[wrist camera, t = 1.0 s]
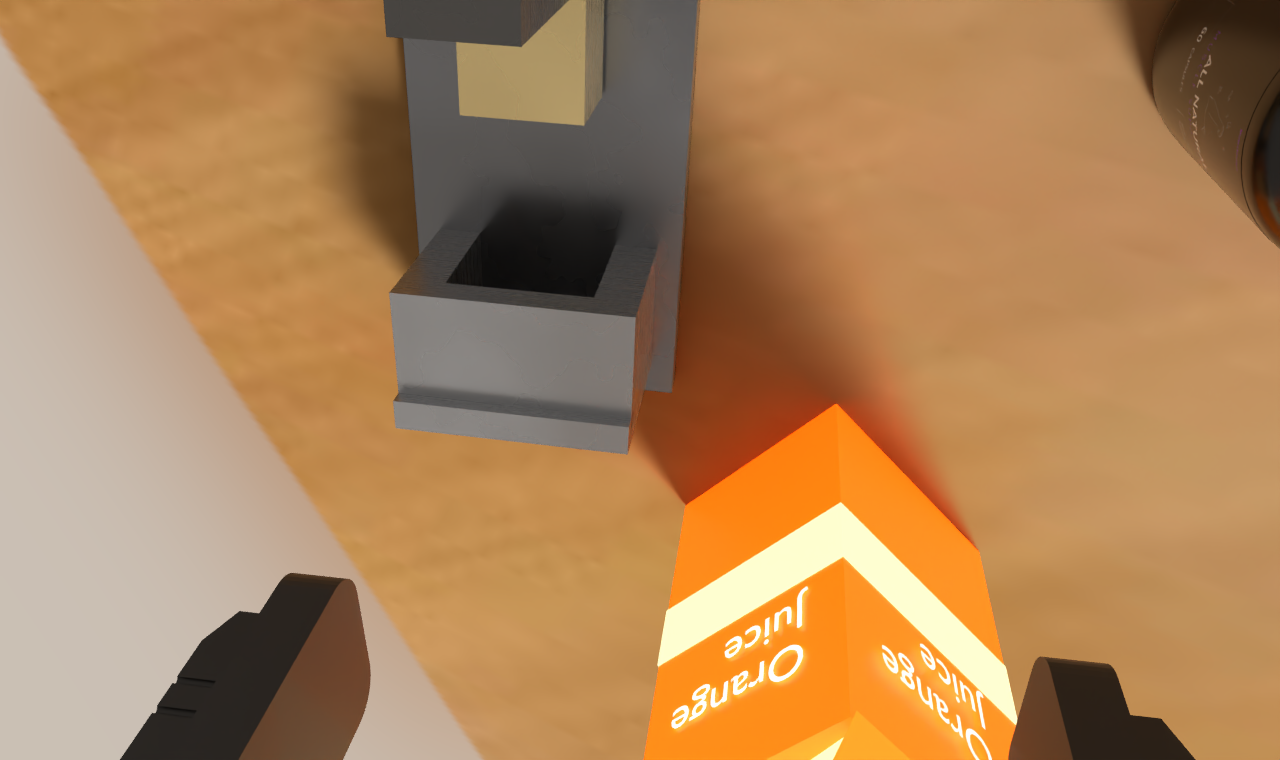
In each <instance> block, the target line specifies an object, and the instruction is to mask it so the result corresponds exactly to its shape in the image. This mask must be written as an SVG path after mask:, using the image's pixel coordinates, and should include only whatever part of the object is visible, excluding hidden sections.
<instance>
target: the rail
mask: <svg viewBox="0 0 1280 760" xmlns="http://www.w3.org/2000/svg"><path fill="white" fill-rule="evenodd" d="M699 11H700V0H604V39H603V84H602V98H601V99H600V101H599V103H598V104H597V106H596V107H595V109H594V111H593V112H592V114H591V115H590V117H589V119H588V120H587V122H586V124H585V125H584V126H583V125H571V124H559V123H547V122H535V121H523V120H511V119H499V118H487V117H475V116H463V115H460V111H459V91H458V71H457V50H456V42H448V41H435V40H421V39H408V38H403V43H404V56H405V70H406V83H407V96H408V110H409V123H410V137H411V150H412V163H413V177H414V190H415V203H416V217H417V230H418V244H419V256H418V257H417V258H416V260H415V261H414V262H413V264H412V265H411V266H410V267H409V269H408V270H407V271H406V272H405V274H404V275H403V276H402V277H401V279H400V280H399V281H398V282H397V284H396V285H395V286H394V287H393V289H392V290H391V291H390V293H389V294H390V305H391V316H392V327H393V338H394V348H395V359H396V370H397V381H398V392H399V393H398V395H397V396H396V398H395V399H394V401H393V404H394V415H395V425H396V428H400V429H409V430H418V431H426V432H435V433H444V434H453V435H462V436H470V437H479V438H488V439H497V440H505V441H514V442H523V443H532V444H541V445H549V446H558V447H567V448H576V449H584V450H593V451H602V452H611V453H620V454H628V451H629V448H630V444H631V440H632V436H633V432H634V429H635V425H636V421H637V417H638V413H639V409H640V406H641V402H642V398H643V394H644V390H650V391H659V392H668V393H672V389H673V384H674V379H675V366H676V351H677V337H678V322H679V307H680V292H681V277H682V263H683V248H684V233H685V218H686V203H687V189H688V174H689V159H690V144H691V129H692V115H693V100H694V85H695V70H696V55H697V40H698V26H699Z"/></svg>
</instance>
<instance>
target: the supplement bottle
mask: <svg viewBox="0 0 1280 760" xmlns="http://www.w3.org/2000/svg"><path fill="white" fill-rule="evenodd" d="M1152 86H1153V94H1154V98H1155V102H1156V105H1157V108H1158V111H1159V113H1160V115H1161V117H1162V119H1163V121H1164V123H1165V125H1166V126H1167V128H1168V129H1169V131H1170V132H1171V134H1172V135H1173V136H1174V137H1175V138H1176V140H1177V141H1178V142H1179V143H1180V144H1181V146H1182V147H1183V148H1184V149H1185V150H1186V151H1187V152H1188V153H1189V154H1190V156H1191V157H1192V158H1193V159H1194V160H1195V161H1196V162H1197V163H1198V164H1199V165H1200V166H1201V167H1202V168H1203V169H1204V171H1205V172H1206V173H1207V174H1208V175H1209V176H1210V177H1211V178H1212V179H1213V180H1214V181H1215V182H1216V183H1217V184H1218V185H1219V187H1220V188H1221V189H1222V190H1223V191H1224V192H1225V193H1226V194H1227V195H1228V196H1229V197H1230V198H1231V199H1232V200H1233V202H1234V203H1235V204H1236V205H1237V206H1238V207H1239V208H1240V209H1241V210H1242V211H1243V212H1244V213H1245V214H1246V215H1247V216H1248V218H1249V219H1250V220H1251V221H1252V222H1253V223H1254V224H1255V225H1256V226H1257V227H1258V228H1259V229H1260V230H1261V231H1262V232H1263V234H1264V235H1265V236H1266V237H1267V238H1268V239H1269V240H1270V241H1272V242H1273V243H1274V244H1275V245H1276V246H1277V247H1278V248H1280V0H1177V1H1176V3H1175V5H1174V6H1173V8H1172V9H1171V11H1170V13H1169V15H1168V17H1167V19H1166V21H1165V23H1164V25H1163V27H1162V30H1161V32H1160V35H1159V37H1158V41H1157V44H1156V48H1155V53H1154V58H1153V67H1152Z"/></svg>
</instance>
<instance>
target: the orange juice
mask: <svg viewBox="0 0 1280 760" xmlns="http://www.w3.org/2000/svg"><path fill="white" fill-rule="evenodd" d="M657 666H659V670H658V676H657V682H656V688H655V694H654V700H653V706H652V713H651V719H650V725H649V731H648V737H647V743H646V749H645V755H644V760H1008V755H1009V749H1010V744H1011V741H1012V737H1013V734H1014V730H1015V727H1016V723H1017V716H1016V712H1015V707H1014V702H1013V698H1012V693H1011V689H1010V684H1009V680H1008V675H1007V671H1006V667H1005V666H1004V664H1003V660H1002V655H1001V651H1000V646H999V641H998V637H997V632H996V628H995V623H994V618H993V614H992V609H991V605H990V600H989V595H988V591H987V586H986V582H985V577H984V572H983V568H982V563H981V559H980V554H979V551H978V550H977V549H976V548H975V547H974V546H973V545H972V544H971V543H970V542H969V541H968V540H967V539H966V538H965V537H964V536H963V535H962V534H961V532H960V531H959V530H958V529H957V528H956V527H955V526H954V525H953V524H952V523H951V522H950V521H949V520H948V519H947V518H946V517H945V516H944V515H943V514H942V513H941V512H940V511H939V510H938V509H937V508H936V507H935V505H934V504H933V503H932V502H931V501H930V500H929V499H928V498H927V497H926V496H925V495H924V494H923V493H922V492H921V491H920V490H919V489H918V488H917V487H916V486H915V485H914V484H913V483H912V482H911V481H910V479H909V478H908V477H907V476H906V475H905V474H904V473H903V472H902V471H901V470H900V469H899V468H898V467H897V466H896V465H895V464H894V463H893V462H892V461H891V460H890V459H889V458H888V457H887V456H886V455H885V454H884V452H883V451H882V450H881V449H880V448H879V447H878V446H877V445H876V444H875V443H874V442H873V441H872V440H871V439H870V438H869V437H868V436H867V435H866V434H865V433H864V432H863V431H862V430H861V429H860V428H859V426H858V425H857V424H856V423H855V422H854V421H853V420H852V419H851V418H850V417H849V416H848V415H847V414H846V413H845V412H844V411H843V410H842V409H841V408H840V407H839V406H838V405H837V404H835V405H833V406H832V407H830V408H829V409H827V410H826V411H824V412H823V413H821V414H820V415H819V416H817V417H816V418H814V419H813V420H811V421H810V422H808V423H807V424H805V425H804V426H802V427H801V428H799V429H798V430H796V431H795V432H793V433H792V434H790V435H789V436H788V437H786V438H785V439H783V440H782V441H780V442H779V443H777V444H776V445H774V446H773V447H771V448H770V449H768V450H767V451H765V452H764V453H762V454H761V455H759V456H758V457H757V458H755V459H754V460H752V461H751V462H749V463H748V464H746V465H745V466H743V467H742V468H740V469H739V470H737V471H736V472H734V473H733V474H731V475H730V476H728V477H727V478H726V479H724V480H723V481H721V482H720V483H718V484H717V485H715V486H714V487H712V488H711V489H709V490H708V491H706V492H705V493H703V494H702V495H700V496H699V497H697V498H696V499H695V500H693V501H692V502H690V503H689V504H687V505H686V506H685V512H684V518H683V525H682V531H681V537H680V543H679V549H678V555H677V561H676V567H675V573H674V579H673V585H672V591H671V597H670V603H669V609H668V610H667V612H666V618H665V624H664V630H663V636H662V642H661V648H660V654H659V660H658V665H657Z"/></svg>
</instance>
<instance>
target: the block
mask: <svg viewBox="0 0 1280 760" xmlns="http://www.w3.org/2000/svg"><path fill="white" fill-rule="evenodd" d="M384 13H385V25H386V37H395V38H408V39H421V40H435V41H448V42H456V50H457V71H458V91H459V111H460V115H463V116H475V117H487V118H499V119H511V120H523V121H535V122H547V123H559V124H571V125H583V126H584V125H585V124H586V122H587V120H588V119H589V117H590V115H591V114H592V112H593V111H594V109H595V107H596V106H597V104H598V103H599V101H600V99H601V98H602V84H603V39H604V0H384Z"/></svg>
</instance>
